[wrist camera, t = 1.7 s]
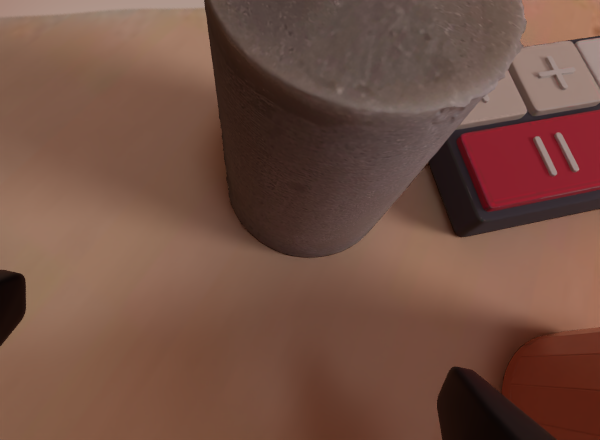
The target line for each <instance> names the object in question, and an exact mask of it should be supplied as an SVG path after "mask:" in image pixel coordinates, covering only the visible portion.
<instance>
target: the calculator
mask: <svg viewBox="0 0 600 440" xmlns="http://www.w3.org/2000/svg"><path fill="white" fill-rule="evenodd" d="M505 76H506V77H505V78H503V79H501V80H499V81H498V85H497V86H496V87H495V90H492V91H491V92H490V93H488V94H487V95H486V96H485V97H483V98H482V99H481V100H480V101H479V103H478V104H477V105H476V106H475V108H474V109H473V110H472V111H471V112H470V113H469V114H468V116H467V117H466V118H465V119H464V120H463V121H462V123H461V124H460V125H459V126H458V127H457V128H456V130H455V131H454V132H453V133H452V134H451V135H450V137H449V138H448V139H447V140H446V141H445V143H444V144H443V145H442V146H441V148H440V149H439V150H438V152H437V153H436V154H435V155H434V156H433V157H432V158H431V159H430V160H429V165H430V167H431V170H432V173H433V175H434V178H435V181H436V183H437V186H438V189H439V191H440V194H441V197H442V199H443V202H444V205H445V208H446V210H447V213H448V216H449V218H450V221H451V224H452V226H453V229H454V231H455V233H456V234H457V235H458V236H460V237H467V236H472V235H477V234H481V233H486V232H491V231H496V230H500V229H505V228H510V227H515V226H519V225H524V224H529V223H533V222H538V221H543V220H548V219H552V218H557V217H562V216H567V215H571V214H576V213H581V212H586V211H590V210H595V209H600V36H596V37H589V38H582V39H575V40H568V41H561V42H554V43H548V44H541V45H534V46H527V47H523V48H522V49H521V52H520V53H519V54H517V55H516V57H515V59H514V60H513V62H512V63H511V65H510V67H509V69H508V70H507V71H506V72H505Z"/></svg>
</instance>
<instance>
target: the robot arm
mask: <svg viewBox="0 0 600 440" xmlns="http://www.w3.org/2000/svg"><path fill="white" fill-rule="evenodd" d="M25 310H26V282H25V278H24V276H23V275H22V274H20V273H16V272H11V271H7V270H0V346H1V345H2V344H3V342H4V341H5V340H6V339H7V337H8V336H9V335H10V334H11V333H12V331H13V330H14V329H15V328H16V326H17V325H18V324H19V323H20V321H21V320H22V318H23V317H24V314H25ZM437 410H438V416H439V422H440V428H441V434H442V440H557V439H556V438H555V437H553V436H552V435H551V434H550V433H549V432H547V431H546V430H545V429H544V428H542V427H541V426H540V425H539V424H538V423H536V422H535V421H534V420H533V419H532V418H530V417H529V416H528V415H527V414H525V413H524V412H523V411H522V410H521V409H519V408H518V407H517V406H516V405H515V404H513V403H512V402H511V401H510V400H508V399H507V398H506V397H505V396H504V395H502V394H501V393H500V392H499V391H498V390H496V389H495V388H494V387H493V386H491V385H490V384H489V383H488V382H487V381H485V380H484V379H483V378H482V377H481V376H479V375H478V374H477V373H476V372H474V371H473V370H470V369H466V368H461V367H452V368H451V369H450V370H449V372H448V374H447V377H446V379H445V381H444V384H443V386H442V388H441V391H440V393H439V396H438V400H437Z"/></svg>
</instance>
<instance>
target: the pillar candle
mask: <svg viewBox="0 0 600 440" xmlns="http://www.w3.org/2000/svg"><path fill="white" fill-rule="evenodd" d="M204 2H205V10H206V16H207V24H208V32H209V39H210V47H211V55H212V62H213V69H214V77H215V85H216V92H217V100H218V108H219V119H220V123H221V129H222V140H223V147H224V148H223V151H224V160H225V165H226V174H227V178H226V179H227V183H228V187H229V188H228V190H229V197H230V202H231V205H232V207H233V209H234V211H235V213H236V215H237V217H238V218H239V220H240V222H241V223H242V224H243V226H244V227H245V228H246V229H247V230H248V231H249V232H250V233H251V234H252V235H253V236H254V237H256V238H257V239H258V240H259V241H261V242H262V243H263V244H265V245H267V246H268V247H270V248H272V249H274V250H276V251H278V252H282V253H285V254H287V255H292V256H299V257H322V256H328V255H332V254H335V253H338V252H341V251H343V250H345V249H347V248H349V247H351V246H353V245H354V244H356V243H357V242H359V241H360V240H361V239H362V238H363V237H364V236H365V235H366V234H367V233H368V232H369V231H370V230H371V229H372V227H373V226H374V225H375V224H376V223H377V222H378V221H379V220H380V218H381V217H382V216H383V215H384V214H385V212H386V211H387V210H388V209H389V208H390V207H391V206H392V204H393V203H394V202H395V201H396V200H397V199H398V198H399V197H400V195H401V194H402V193H403V192H404V190H405V189H406V188H407V187H408V186H409V185H410V183H411V182H412V181H413V180H414V179H415V177H416V176H417V175H418V174H419V173H420V171H421V170H422V169H423V168H424V166H425V165H426V164H427V163H428V162H429V160H430V159H431V158H432V157H433V156H434V155H435V154H436V153H437V152H438V150H439V149H440V148H441V146H442V145H443V144H444V143H445V141H446V140H447V139H448V138H449V137H450V135H451V134H452V133H453V132H454V131H455V130H456V128H457V127H458V126H459V125H460V124H461V123H462V121H463V120H464V119H465V118H466V117H467V116H468V114H469V113H470V112H471V111H472V110H473V109H474V108H475V106H476V105H477V104H478V103H479V101H480V100H481V99H482V98H483V97H485V96H486V95H487V94H488V93H490V92H491V91H492V90H495V87H496V86H497V85H498V81H499V80H501V79H503V78H505V77H506V76H505V72H506V71H507V70H508V69H509V67H510V65H511V63H512V62H513V60H514V59H515V57H516V55H517V54H519V53H520V52H521V49H522V48H523V45H522V44H521V42H520V39H521V36H522V34H523V33H524V31H525V29H526V23H527V21H526V19H525V17H524V7H523V4H522V0H204Z"/></svg>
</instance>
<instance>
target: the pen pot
mask: <svg viewBox="0 0 600 440" xmlns="http://www.w3.org/2000/svg"><path fill="white" fill-rule="evenodd" d="M502 395H504V396H505V397H506V398H507V399H508V400H510V401H511V402H512V403H513V404H515V405H516V406H517V407H518V408H519V409H521V410H522V411H523V412H524V413H525V414H527V415H528V416H529V417H530V418H532V419H533V420H534V421H535V422H536V423H538V424H539V425H540V426H541V427H542V428H544V429H545V430H546V431H547V432H549V433H550V434H551V435H552V436H553V437H555V438H556V439H557V440H600V327H598V328H589V329H580V330H571V331H562V332H559V333H555V334H547V335H542V336H539V337H536V338H534V339H532V340H530V341H528V342H527V343H525V344H524V345H523V346H522V347H520V348H519V350H518V351H517V352H516V353H515V354H514V356H513V357H512V359H511V360H510V362H509V364H508V367H507V369H506V372H505V375H504V379H503V385H502Z"/></svg>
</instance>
